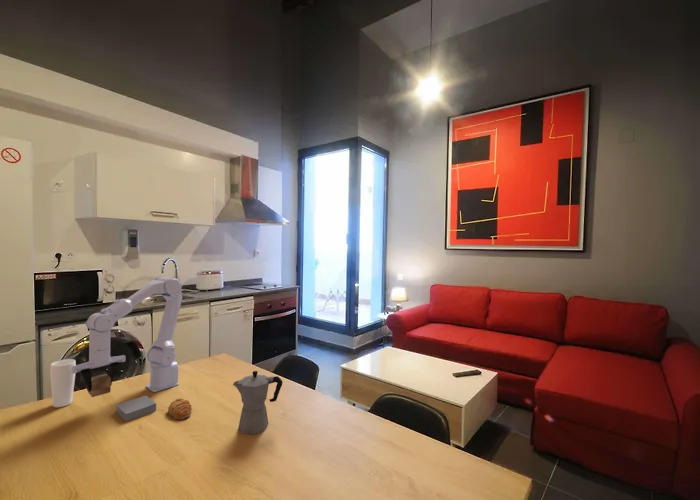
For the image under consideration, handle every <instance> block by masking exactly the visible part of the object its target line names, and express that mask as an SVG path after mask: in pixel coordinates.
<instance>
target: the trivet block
mask: <svg viewBox="0 0 700 500" xmlns="http://www.w3.org/2000/svg"><path fill="white" fill-rule="evenodd" d="M156 411H157V403H156V402H155V401H154V400H152V398H150V397H149V396H147V395H146V394H145V395H141V396H139V397H136V398H133V399H130V400H127V401H123V402H121V403H118V404H116V406H115V412H116V414H117V415H118V416H119V417H120V418H121V419H122V420H123V421H124V422H126V423H127V422H129V421H132V420H134V419H138V418H141V417H144V416H146V415H149V414H152V413H154V412H156Z"/></svg>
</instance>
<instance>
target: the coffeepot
mask: <svg viewBox="0 0 700 500" xmlns="http://www.w3.org/2000/svg"><path fill="white" fill-rule="evenodd" d="M258 372H259V371H257V370H253V371H252V374H251V375H247V376H243V378H241V379H239V380H237V381H234V382H233V384H232V386H234V387H235V388H236V389H237V391H238V392H239V394H240V397H241V403H242V404H243V405H242V406H243V407H242V408H241V411H240V412H241V413H240V419H239V422H238V429H239V431H240V432H241V433H243V434H245V435H257V434H260V433H262V432H263V431H265V430H266V429H267V427H268V425H269V417H268V412H267V405H266V404H265V403H266V400H267V396H268V391H269V385H271V384H273V383H277V384H276V385H275V391H274V392H273V397H272V398H269V402H270V403H272V402H277V399H278V396H279V394H280V391H281V389H282V385H283V380H282V379H281V378H280V377H279V376H278V375H277V376H276V375H275V376H267V375H265V374H258Z"/></svg>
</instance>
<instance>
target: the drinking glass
mask: <svg viewBox="0 0 700 500" xmlns="http://www.w3.org/2000/svg"><path fill="white" fill-rule="evenodd" d="M76 365H77V363H76V359H73V358H65V359H59V360H56V361H54V362H52V363H51V364H50V367H49V377H50V378H49V379H50V389H51V401H52V403H51V405H52V407H53V408H63V407H66V406H68V405H70V404H72V403H73V402H74V401H73V400H74V388H75V383H76V382H75V381H76V374H77V373H74V374H73V373H72V372H71V369H72V366H76Z"/></svg>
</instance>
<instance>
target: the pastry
mask: <svg viewBox="0 0 700 500" xmlns="http://www.w3.org/2000/svg"><path fill="white" fill-rule="evenodd" d="M192 409H193V408H192V405H191V403H190V401H189V400H187V399H184V398H177V399H175V400H174V401H172V402H171V403H170V404H169V406H168V408H167V412H168V415H169V416H171V417H172V418H174V419H176V420H184V419H185V418H188V417H190V416H191V414H192V411H193V410H192Z"/></svg>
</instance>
